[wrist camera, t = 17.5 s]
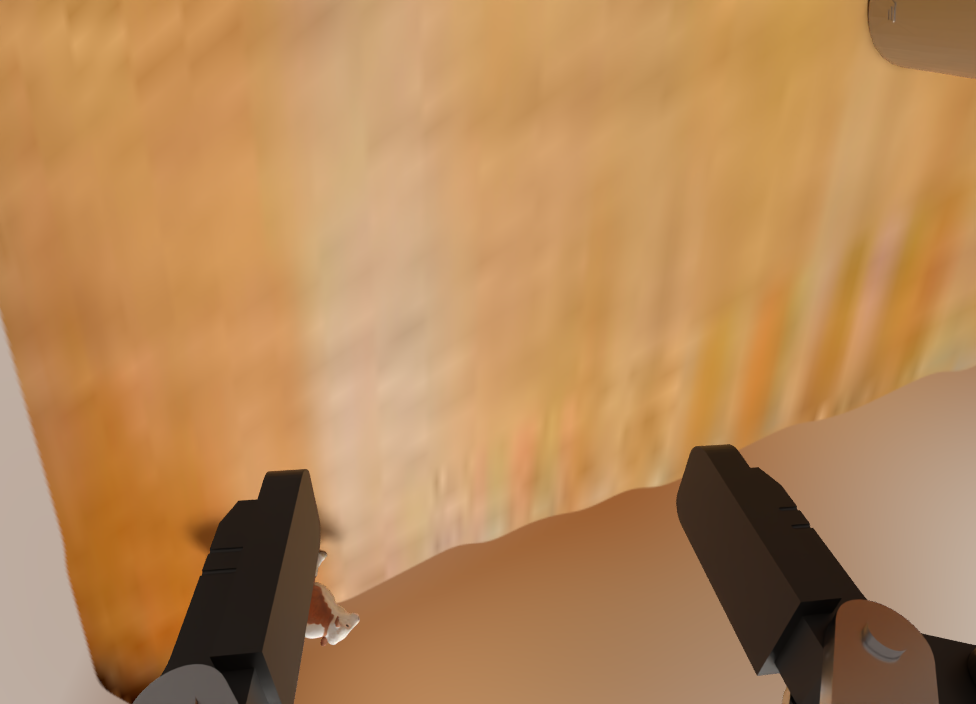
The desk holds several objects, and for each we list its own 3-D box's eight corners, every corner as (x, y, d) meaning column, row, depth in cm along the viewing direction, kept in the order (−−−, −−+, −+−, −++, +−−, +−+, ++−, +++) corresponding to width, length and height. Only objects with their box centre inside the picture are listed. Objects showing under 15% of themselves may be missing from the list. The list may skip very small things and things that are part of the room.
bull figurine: (365, 574, 57) (358, 652, 51) (231, 583, 56) (205, 665, 49) (361, 547, 55) (354, 625, 48) (221, 556, 53) (193, 638, 47)
